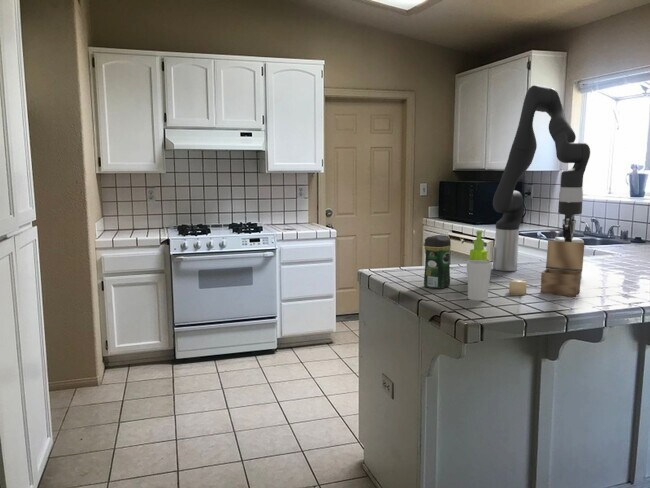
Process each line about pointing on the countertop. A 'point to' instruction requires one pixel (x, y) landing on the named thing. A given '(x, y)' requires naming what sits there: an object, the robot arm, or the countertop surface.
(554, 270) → the box
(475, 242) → the soap dispenser
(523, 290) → the domed cream knob
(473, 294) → the cup
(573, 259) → the lid
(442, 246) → the coffee jar
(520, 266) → the countertop surface
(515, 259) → the robot arm
